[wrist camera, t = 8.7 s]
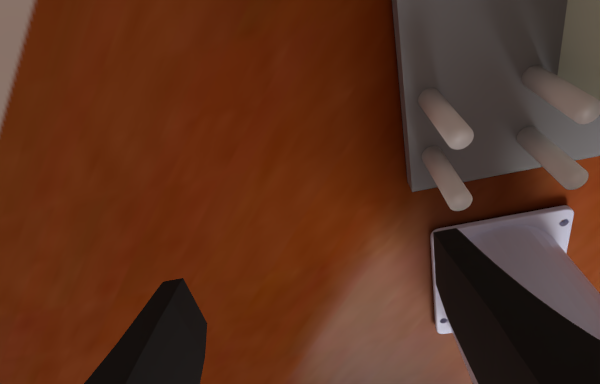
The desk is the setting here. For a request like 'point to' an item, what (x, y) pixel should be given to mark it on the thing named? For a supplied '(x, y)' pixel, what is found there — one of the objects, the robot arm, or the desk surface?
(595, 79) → the pale rectangular block
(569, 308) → the robot arm
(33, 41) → the desk surface
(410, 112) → the dish rack
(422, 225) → the desk surface
